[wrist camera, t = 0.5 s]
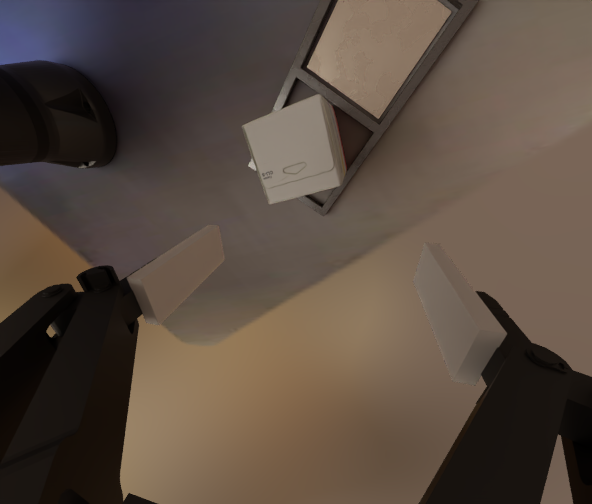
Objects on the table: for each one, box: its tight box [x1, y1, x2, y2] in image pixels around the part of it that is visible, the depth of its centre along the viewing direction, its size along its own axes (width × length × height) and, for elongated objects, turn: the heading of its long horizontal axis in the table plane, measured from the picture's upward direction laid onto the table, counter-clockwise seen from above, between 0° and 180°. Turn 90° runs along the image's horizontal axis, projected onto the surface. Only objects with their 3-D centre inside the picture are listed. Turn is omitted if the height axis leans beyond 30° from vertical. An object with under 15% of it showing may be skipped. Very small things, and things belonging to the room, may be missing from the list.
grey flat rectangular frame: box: [248, 0, 479, 216], centre depth 29 cm, size 14×27×1 cm, turn 149°
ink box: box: [242, 94, 347, 204], centre depth 27 cm, size 9×9×12 cm
